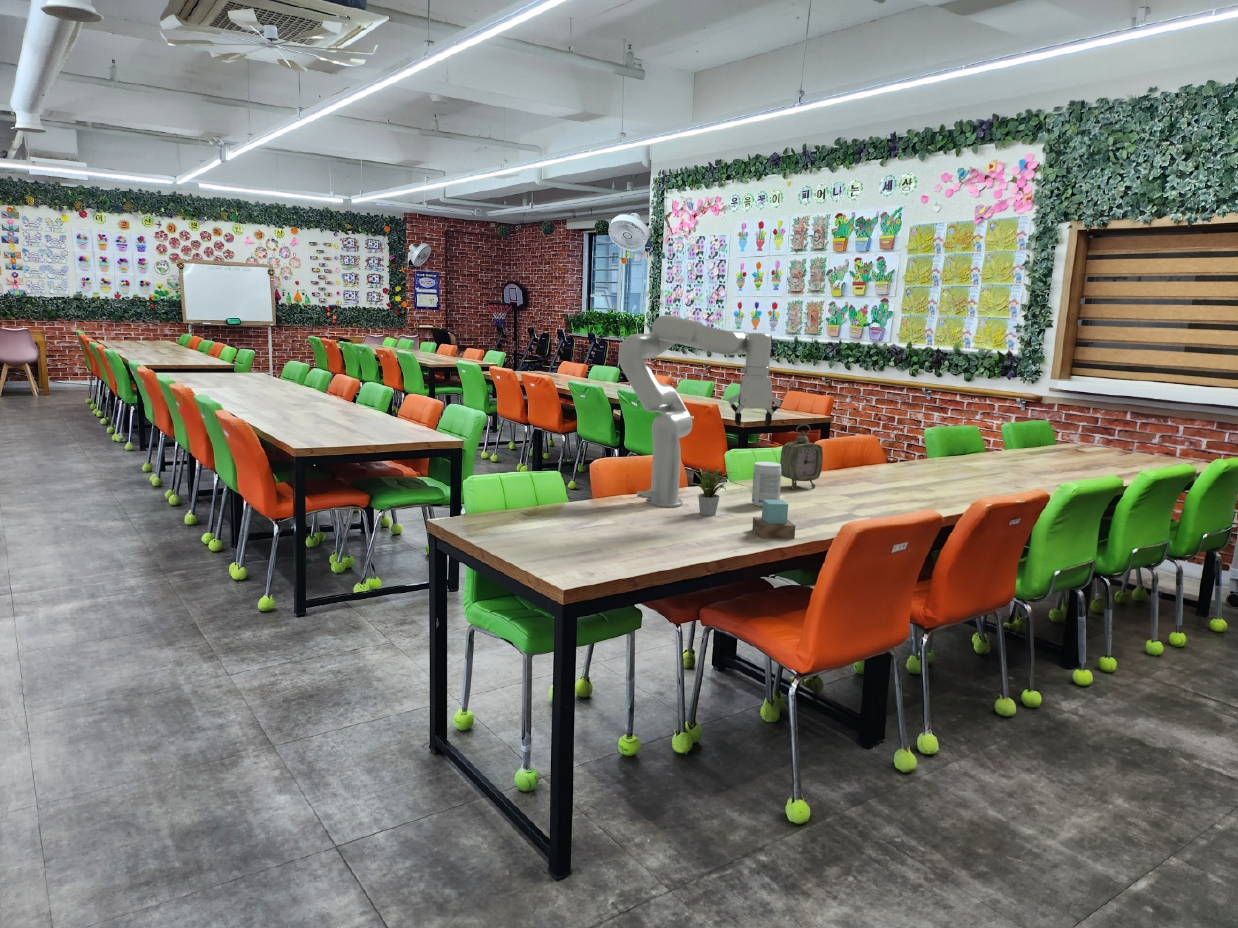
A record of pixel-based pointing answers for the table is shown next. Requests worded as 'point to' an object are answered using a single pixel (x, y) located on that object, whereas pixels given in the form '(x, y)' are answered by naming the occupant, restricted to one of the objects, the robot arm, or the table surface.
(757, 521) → the walnut base
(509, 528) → the table surface
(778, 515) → the teal cube
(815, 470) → the tabletop clock
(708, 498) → the house plant
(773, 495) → the supplement tub
